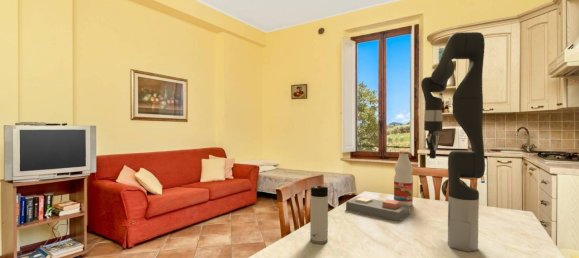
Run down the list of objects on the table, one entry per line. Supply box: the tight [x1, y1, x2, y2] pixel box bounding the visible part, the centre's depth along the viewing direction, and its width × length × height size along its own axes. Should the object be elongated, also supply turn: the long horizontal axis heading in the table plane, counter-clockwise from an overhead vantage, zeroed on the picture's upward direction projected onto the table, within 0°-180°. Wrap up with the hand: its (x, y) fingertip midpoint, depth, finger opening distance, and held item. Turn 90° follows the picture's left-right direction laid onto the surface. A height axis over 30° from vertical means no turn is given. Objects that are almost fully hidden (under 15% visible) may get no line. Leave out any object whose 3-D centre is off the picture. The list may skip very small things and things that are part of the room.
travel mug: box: [309, 186, 329, 245], centre depth 109 cm, size 6×7×20 cm
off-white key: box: [356, 196, 373, 204], centre depth 150 cm, size 6×6×4 cm
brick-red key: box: [382, 199, 400, 209], centre depth 140 cm, size 6×6×4 cm
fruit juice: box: [393, 150, 414, 207], centre depth 159 cm, size 9×9×28 cm
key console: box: [345, 196, 411, 222], centre depth 145 cm, size 14×26×4 cm, turn 49°
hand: (432, 158), depth 137 cm, fingers closed
